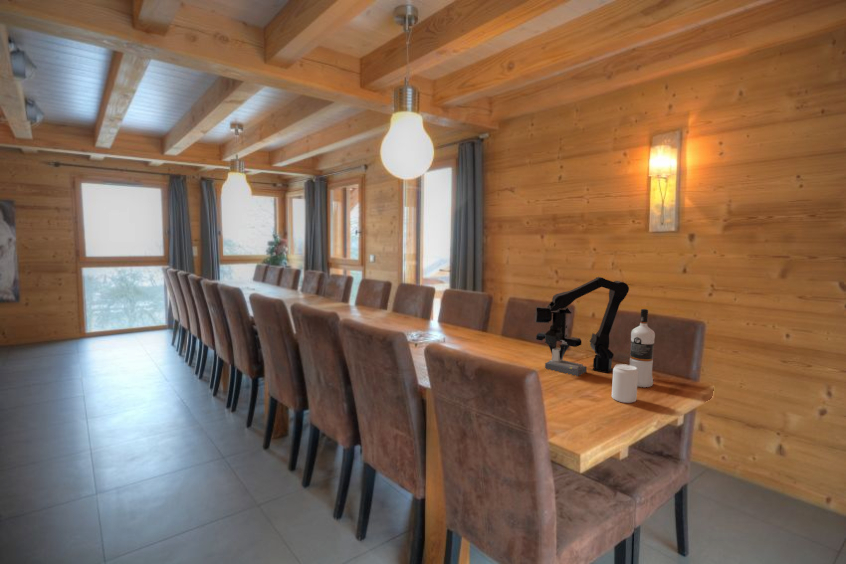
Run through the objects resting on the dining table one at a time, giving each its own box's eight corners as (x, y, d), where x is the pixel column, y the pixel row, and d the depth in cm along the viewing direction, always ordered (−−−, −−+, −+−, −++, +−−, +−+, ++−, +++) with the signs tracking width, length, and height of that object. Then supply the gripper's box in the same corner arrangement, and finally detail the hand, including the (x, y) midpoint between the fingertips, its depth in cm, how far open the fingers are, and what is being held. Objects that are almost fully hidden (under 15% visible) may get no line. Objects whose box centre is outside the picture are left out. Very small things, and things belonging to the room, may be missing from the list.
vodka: (657, 386, 175) (663, 310, 172) (642, 389, 171) (647, 311, 168) (636, 379, 184) (641, 306, 180) (621, 382, 179) (626, 308, 176)
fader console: (586, 372, 192) (586, 364, 192) (577, 376, 186) (578, 368, 186) (554, 364, 202) (554, 357, 202) (545, 368, 197) (545, 360, 196)
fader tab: (562, 362, 197) (563, 348, 197) (557, 364, 194) (558, 350, 193) (556, 360, 199) (557, 347, 199) (551, 362, 196) (552, 349, 196)
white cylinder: (637, 405, 155) (639, 371, 154) (612, 402, 158) (614, 368, 156) (634, 397, 163) (636, 365, 162) (610, 394, 165) (612, 362, 164)
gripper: (530, 322, 196) (528, 357, 197) (570, 329, 183) (568, 366, 184) (543, 319, 204) (541, 353, 205) (582, 325, 191) (581, 361, 192)
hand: (557, 358), depth 196 cm, fingers closed on fader tab, 3 cm apart
